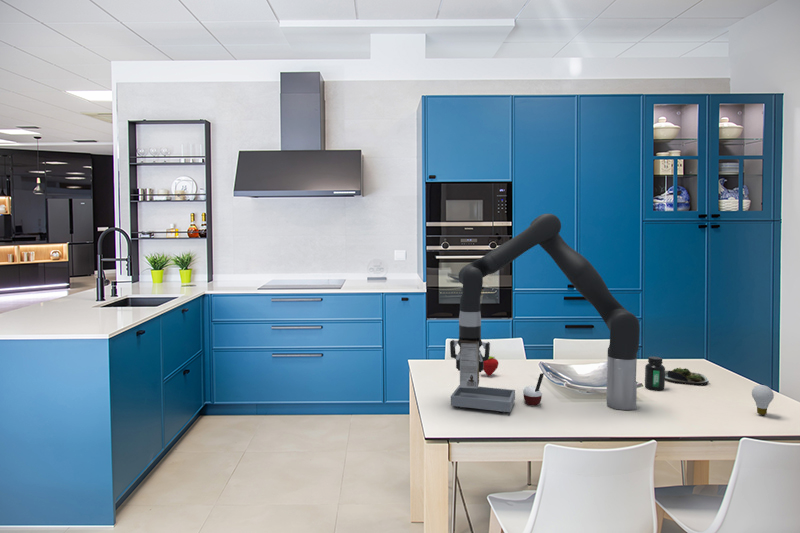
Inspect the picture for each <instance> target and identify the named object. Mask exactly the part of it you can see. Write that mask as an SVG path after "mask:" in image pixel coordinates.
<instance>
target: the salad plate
mask: <svg viewBox="0 0 800 533" xmlns="http://www.w3.org/2000/svg"><path fill="white" fill-rule="evenodd" d="M665 382H669V383H673V384H677V385H678V384H679V385H685V386H686V385H687V386H699V387H700V386H705V385H707V384H708V383H709V379H708V378H707V377H706V375H704V374H701V373H699V372H691V371H690V369H689V368H686V367H685V368H681V367H676V368H674V369H671V370H665Z"/></svg>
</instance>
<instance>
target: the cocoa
mask: <svg viewBox="0 0 800 533" xmlns="http://www.w3.org/2000/svg"><path fill="white" fill-rule="evenodd" d="M544 375H545V373H543V372H542V373H539V376H538V380H537V383H536V386H533V385H529V386H525V387H524V388H523V389H522V392H523V401H524V402H525V404H527V405H528V406H532V407H537V406H539V405H541V402H542V398H543V393H542V391H541V390H540V389H541V384H542V382H543V378H544Z"/></svg>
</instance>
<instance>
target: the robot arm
mask: <svg viewBox="0 0 800 533" xmlns="http://www.w3.org/2000/svg"><path fill="white" fill-rule="evenodd" d="M561 229H562V223H561V220H560V218H559V217H558V216H556V215H555V214H553V213H543V214H540V215H538V216H537V217H535V218H534V219H532V221H531V223H530V225H529V226H528V227H527V228H525V229H524V230H523V231H521V232H520V233H518V234H517V235H515V236H514V237H513V238H511V239H508V240H507V241H506V242H504V243H502V244H500V245H498V246H497V247H495V248H493V249H492V250H491V251H489V252H488V253H486V254H484V255H483V256H482V257H480V258H478V259H476V260H474V261H472V262H470V263H468V264H466V265H464V266H463V267H462V268H461V269H460V270H459V272H458V281H459V282H460V283H461V285H462V294H461V295H460V298H459V316H458V327H459V328H458V330H459V331H458V339H457V340H455V339H452V340H450V342H449V349H450V351H449V352H450V357H451V359H455V369H457V371H459V372H460V350H459V351H458V354H456V347H457V345H458V346H459V347H460V341H461V339H465V340H478V341H479V373H482V372H483V371H484V370H483V369H484V361H487V360H488V359H489V356H490V350H491V343H490V342H489V341H486V342H483V341H482V316H481V315H482V314H481V296H482V289H483V284H484V280H483V279H484V278H485V277H487V276H489V275H492V274H494V273H497V272H499V271H500V270H502V269H503V268H505V267H506V266H507V265H509V264H510V263H512V262H514V261H515V260H516V259H517V258H519V257H520V256H522V255H523V254H524V253H526V252H527V251H529V250H530V249H533V248H534V247H536V246H537V245H538V246H540V247H541V248H542V250H544V251H545V252H546V253H547V254H548V255H549V256H550V258H551V259H552V260H553V261H554V263H555V264H556V266H558V268H559V270H561V272H562V273H563V274H564V275H565V277H566V278H567V280H568V281H569V282H570V283H571V285H572V286H573V287H574V288H575V289H576V290H577V292H579V294H580V295H581V296H582V297H584V299H585V300H586V301H588V302H589V303H590V304H591V306H592V307H593V308H594V309H595V310H596V312H597V313H598V314H599V315H600V317H601V318H602V320H603V322H604V323H605V325H606V326H607V328H608V330H609V346H608V348H607V359H606V360H607V361H606V362H607V365H606V368H607V369H606V370H607V371H606V398H605V399H606V402H605V404H606V406H608V407H609V408H612V409H615V410H622V411H630V410H631V411H632V410H636V411H637V393H638V392H637V389H638V387H637V386H638V382H637V361H638V360H637V358H638V352H639V347H640V334H641V332H640V329H641V328H640V321H639V319H638V318H637V316H636V315H635V314H633V313H632V312H630V311H629V310H627V309H626V308H625V307H624V306H623V305H622V304H621V303H620V302H619V301H618V300H617V299H616V298H615V297H614V296H613V294H612V293H611V291H610V290H609V288H608V286H607V284H606V283H605V280H603V278H602V276H601V275H600V273H599V272H598V270H597V269H596V268H595V267H594V266H593V265H592V263H591V262H590V261H589V260H588V259H587V258H585V256H584V255H582V254H581V253H579V252H578V251H577V250H575V249H573V248H572V247H571V246H570V245H568V243H567V242H566V241H565V240H564V239H563V238H562V236H561V235H560V232H561ZM481 347H482V348H483V350H484V356H483V354H482V352H481V350H480V348H481Z"/></svg>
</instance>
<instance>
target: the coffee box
mask: <svg viewBox="0 0 800 533" xmlns="http://www.w3.org/2000/svg"><path fill="white" fill-rule="evenodd" d="M479 350H480V348H479V341H478V340H465V339H461V341H460V346H459V351H460V371H459V385H460V388H478V386H479V384H480V372H479Z"/></svg>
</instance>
